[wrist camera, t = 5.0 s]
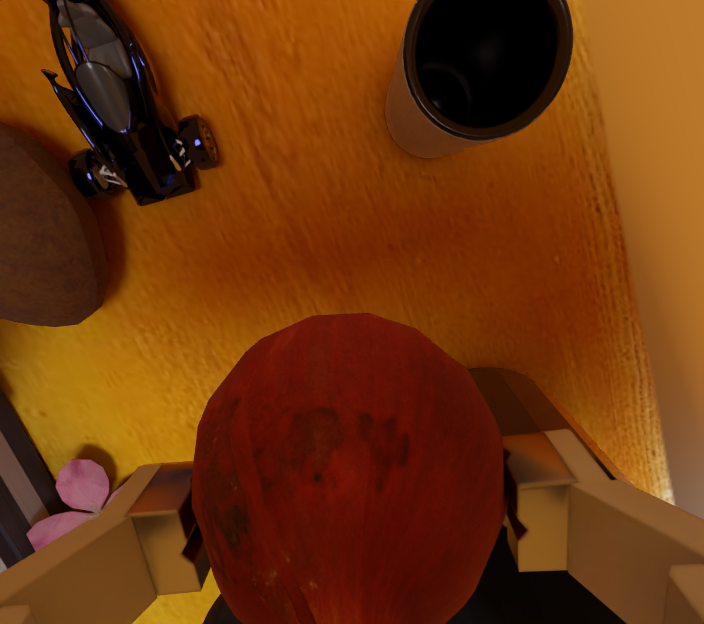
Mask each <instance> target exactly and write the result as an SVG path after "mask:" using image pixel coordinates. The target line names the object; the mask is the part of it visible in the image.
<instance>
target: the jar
mask: <svg viewBox="0 0 704 624" xmlns="http://www.w3.org/2000/svg"><path fill="white" fill-rule="evenodd" d="M467 370H468V371H469V373H470V374H471V376H472V378H473V380H474V382H475V383H476V385H477V387H478V389H479V391H480V392H481V394H482V396H483V398H484V400H485V401H486V403H487V405H488V407H489V409H490V410H491V412H492V414H493V416H494V418H495V421H496V423H497V426H498V428H499V431H500V433H501V435H502V436H509V435H519V434H529V433H538V432H544V431H552V430H560V429H568V430H570V431H571V432H572V433H573V434H574V435H575V436H576V438H577V439H578V440H579V441H580V443H581V444H582V445H583V446H584V448H585V449H586V450H587V451H588V453H589V454H590V455H591V456H592V458H593V459H594V460H595V461H596V463H597V464H598V465H599V466H600V468H601V469H602V470H603V471H604V472H605V474H606V475H607V476H608V477H609V479H610V480H621V481H623V482H625V483H627V484H629V485H631V486H633V485H632V483H631V482H630V481H629V480H628V479H627V478H626V477H625V476H624V474H623V473H622V472H621V471H620V470H619V469H618V468H617V467H616V465H615V464H614V463H613V462H612V461H611V460H610V459H609V458H608V456H607V455H606V454H605V453H604V452H603V451H602V450H601V449H600V447H599V446H598V445H597V444H596V443H595V442H594V441H593V440H592V438H591V437H590V436H589V435H588V434H587V433H586V432H585V431H584V429H583V428H582V427H581V426H580V425H579V424H578V423H577V422H576V421H575V419H574V418H573V417H572V416H571V415H570V414H569V413H568V412H567V410H566V409H565V408H564V407H563V406H562V405H561V404H560V403H559V401H558V400H557V399H556V398H555V397H553V396H552V395H551V394H550V393H548V392H547V391H546V390H545V389H544V388H543V387H542V386H541V385H540V384H538V383H537V382H535V381H534V380H532V379H530V378H528V377H526V376H524V375H522V374H519V373H516V372H514V371H510V370H505V369H500V368H488V367H487V368H473V369H467ZM633 487H634V486H633ZM445 624H627V623H626V622H624V621H623V620H622V619H621V618H620V617H619V616H618V615H616V614H615V613H614V612H613V611H612V610H611V609H609V608H608V607H607V606H606V605H605V604H604V603H603V602H601V601H600V600H599V599H598V598H597V597H596V596H595V595H593V594H592V593H591V592H590V591H589V590H588V589H587V588H585V587H584V586H583V585H582V584H581V583H580V582H578V581H577V580H576V579H575V578H574V577H573V576H572V575H570V574H569V573H568V570H556V571H526V572H519V571H518V568H517V565H516V563H515V560H514V558H513V555H512V552H511V550H510V547H509V545H508V542H507V528H506V527H505V526H503V525H502V527H501V529H500V532H499V535H498V537H497V540H496V543H495V545H494V547H493V550H492V552H491V554H490V557H489V559H488V561H487V564H486V566H485V568H484V571H483V573H482V575H481V578H480V580H479V582H478V585H477V587H476V589H475V591H474V593H473V594H472V595H471V597H470V598H469V600H468V601H467V602H466V604H465V605H464V606H463V608H462V609H460V610H459V611H458V612H457V613H456V614H455V615H454V616H453V617H452V618H451V619H450V620H448V621H447V622H446V623H445Z"/></svg>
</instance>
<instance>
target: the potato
mask: <svg viewBox="0 0 704 624" xmlns="http://www.w3.org/2000/svg"><path fill="white" fill-rule="evenodd" d="M108 284H109V275H108V268H107V260H106V255H105V250H104V245H103V240H102V236H101V232H100V228H99V224H98V220H97V217H96V215H95V214H94V212H93V210H92V209H91V207H90V205H89V203H88V202H87V200H86V198H85V196H84V195H83V194H82V193H81V192H80V191H79V189H78V188H77V187H76V185H75V183H74V181H73V179H72V178H71V176H70V175H69V174H68V172H67V171H66V170H65V168H64V167H63V166H62V164H61V163H60V162H59V161H58V160H57V159H56V158H55V157H54V156H53V155H52V154H51V153H50V152H49V151H48V150H47V149H46V148H45V147H44V146H43V145H42V144H41V143H40V142H39V141H37V140H36V139H34V138H32V137H31V136H29V135H28V134H26V133H24V132H23V131H21V130H19V129H16V128H14V127H12V126H10V125H7V124H5V123H3V122H1V121H0V318H3V319H6V320H10V321H14V322H19V323H25V324H30V325H39V326H51V327H59V326H68V325H76V324H79V323H81V322H82V321H83V320H85V319H86V318H87V317H89V316H90V315H92V314H93V313H94V312H95V311H96V310H97V309H99V308H100V307H101V306H102V303H103V300H104V296H105V293H106V290H107V287H108Z"/></svg>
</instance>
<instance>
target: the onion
mask: <svg viewBox="0 0 704 624" xmlns="http://www.w3.org/2000/svg"><path fill="white" fill-rule="evenodd" d="M504 499H505V493H504V458H503V438H502V435H501V433H500V431H499V428H498V426H497V423H496V421H495V418H494V416H493V414H492V412H491V410H490V409H489V407H488V405H487V403H486V401H485V400H484V398H483V396H482V394H481V392H480V391H479V389H478V387H477V385H476V383H475V382H474V380H473V378H472V376H471V374H470V373H469V371H468V370H467V369H466V368H465V367H463V366H462V365H461V364H459V363H458V362H457V361H455V360H454V359H453V358H451V357H450V356H449V355H448V354H447V353H445V352H444V351H443V350H442V349H440V348H439V347H438V346H437V345H436V344H434V343H433V342H432V341H431V340H430V339H428V338H427V337H426V336H425V335H424V334H422V333H421V332H420V331H419V330H417V329H416V328H413V327H410V326H406V325H403V324H400V323H397V322H394V321H391V320H388V319H385V318H382V317H379V316H376V315H373V314H370V313H359V314H338V315H316V316H311V317H309V318H306V319H304V320H302V321H300V322H297V323H295V324H293V325H291V326H289V327H286V328H284V329H282V330H280V331H278V332H275V333H273V334H271V335H269V336H267V337H264V338H262V339H261V340H259V341H258V342H257V343H256V344H255V345H253V346H252V347H251V348H250V349H249V350H248V351H246V352H245V354H244V355H243V356H242V358H241V359H240V360H239V361H238V363H237V364H236V365H235V367H234V368H233V369H232V370H231V372H230V373H229V374H228V376H227V377H226V378H225V380H224V381H223V382H222V383H221V385H220V386H219V387H218V389H217V390H216V391H215V392H214V394H213V395H212V396H211V398H210V399H209V401H208V403H207V406H206V408H205V410H204V413H203V415H202V418H201V420H200V422H199V425H198V430H197V439H196V447H195V455H194V464H193V472H192V509H193V512H194V514H195V517H196V520H197V523H198V525H199V528H200V531H201V534H202V537H203V541H204V544H205V548H206V551H207V554H208V558H209V561H210V565H211V568H212V572H213V575H214V577H215V580H216V582H217V585H218V587H219V590H220V592H221V595H222V597H223V598H224V600H225V601H226V603H227V604H228V606H229V608H230V609H231V611H232V612H233V614H234V615H235V617H236V618H238V619H239V620H240V621H241V622H242V623H243V624H445V623H446V622H447V621H448V620H450V619H451V618H452V617H453V616H454V615H455V614H456V613H457V612H458V611H459V610H460V609H462V608H463V606H464V605H465V604H466V602H467V601H468V600H469V598H470V597H471V595H472V594H473V593H474V591H475V589H476V587H477V585H478V582H479V580H480V578H481V575H482V573H483V571H484V568H485V566H486V564H487V561H488V559H489V557H490V554H491V552H492V550H493V547H494V545H495V543H496V540H497V537H498V535H499V532H500V529H501V527H502V524H503V521H504Z"/></svg>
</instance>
